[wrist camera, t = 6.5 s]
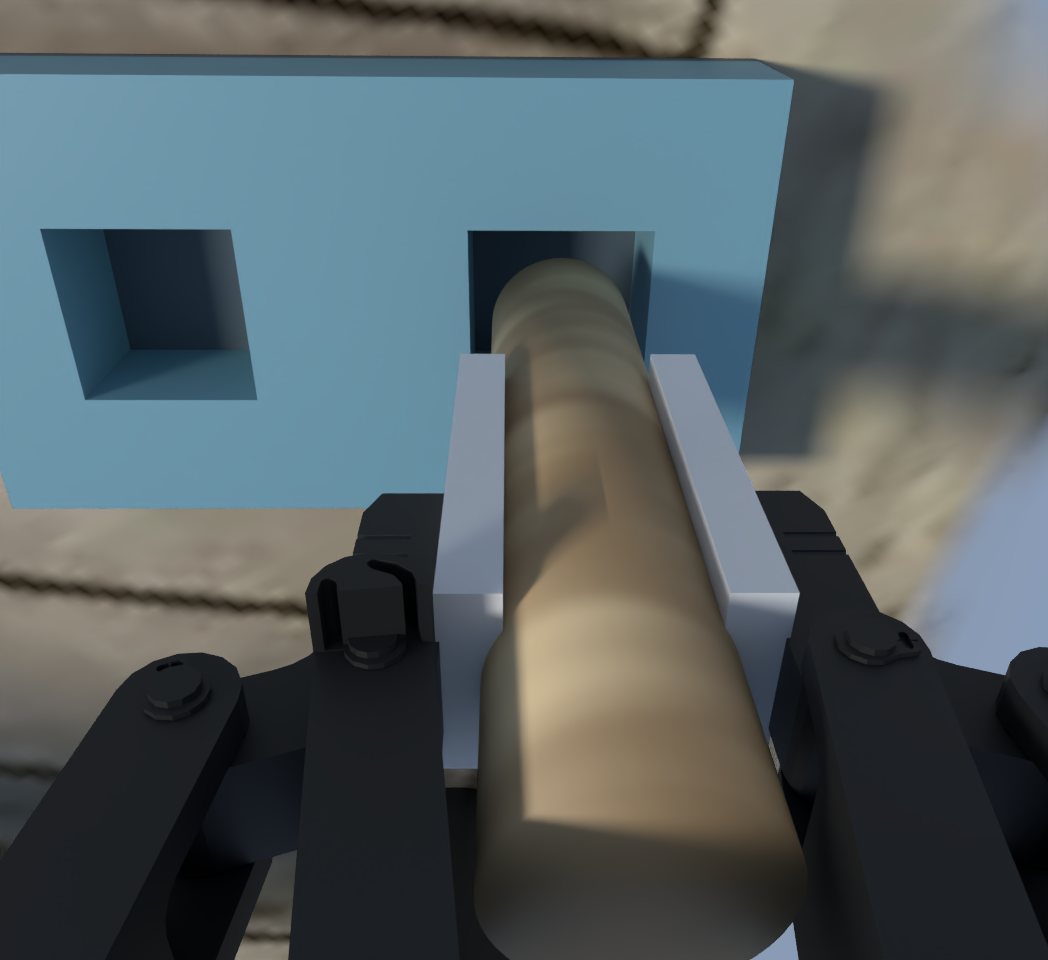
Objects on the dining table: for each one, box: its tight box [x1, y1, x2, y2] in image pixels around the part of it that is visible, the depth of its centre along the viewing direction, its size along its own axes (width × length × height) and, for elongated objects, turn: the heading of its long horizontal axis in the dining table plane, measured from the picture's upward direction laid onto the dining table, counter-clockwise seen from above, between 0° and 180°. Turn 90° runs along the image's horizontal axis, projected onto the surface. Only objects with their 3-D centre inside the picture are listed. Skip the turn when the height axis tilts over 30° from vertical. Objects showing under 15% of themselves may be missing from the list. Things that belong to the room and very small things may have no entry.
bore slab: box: [0, 53, 794, 509], centre depth 22 cm, size 18×10×4 cm, turn 89°
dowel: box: [473, 258, 808, 960], centre depth 14 cm, size 3×3×14 cm
